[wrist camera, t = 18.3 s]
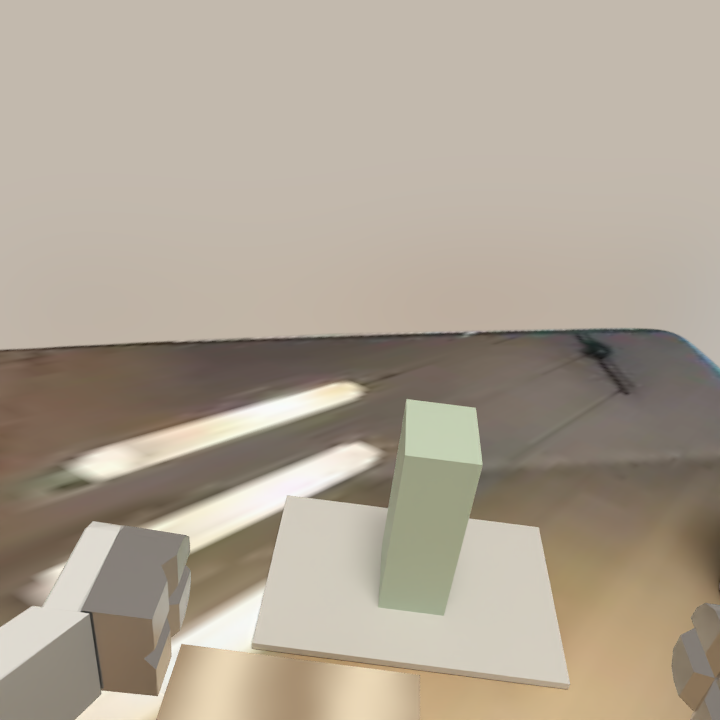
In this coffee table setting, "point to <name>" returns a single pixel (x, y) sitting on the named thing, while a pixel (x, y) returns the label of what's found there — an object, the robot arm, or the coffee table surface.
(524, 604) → the rubber mat
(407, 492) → the sage green pillar
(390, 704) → the plate
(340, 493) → the coffee table surface
